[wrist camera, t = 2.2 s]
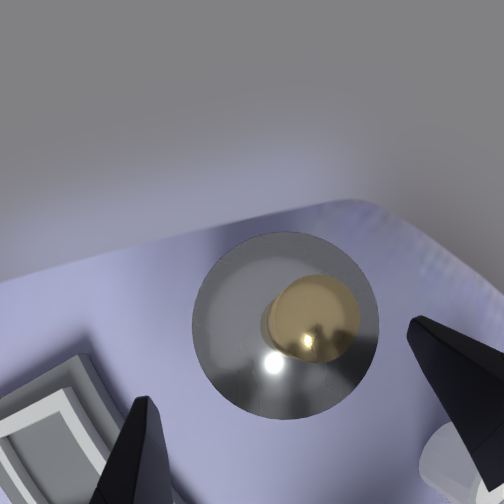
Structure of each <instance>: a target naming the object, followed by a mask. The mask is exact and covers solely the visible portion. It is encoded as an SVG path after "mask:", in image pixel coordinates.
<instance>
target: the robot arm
mask: <svg viewBox="0 0 504 504" xmlns="http://www.w3.org/2000/svg"><path fill="white" fill-rule="evenodd" d="M407 340H408V343H409V345H410V347H411V349H412V351H413V353H414V355H415V357H416V359H417V361H418V363H419V365H420V367H421V369H422V371H423V373H424V375H425V377H426V378H427V380H428V382H429V383H430V385H431V387H432V388H433V390H434V392H435V393H436V395H437V397H438V398H439V400H440V402H441V403H442V405H443V407H444V409H445V410H446V412H447V414H448V416H449V417H450V419H451V421H452V423H453V424H454V426H455V428H456V430H457V432H458V433H459V435H460V437H461V439H462V441H463V443H464V445H465V446H466V448H467V450H468V452H469V454H470V456H471V458H472V460H473V462H474V464H475V466H476V468H477V470H478V472H479V474H480V476H481V478H482V480H483V482H484V484H485V486H486V488H487V490H488V492H491V491H493V490H494V489H496V488H497V487H499V486H501V485H502V484H504V353H502V352H500V351H498V350H496V349H494V348H492V347H489V346H487V345H485V344H483V343H481V342H479V341H477V340H474V339H472V338H470V337H468V336H466V335H464V334H462V333H459V332H457V331H455V330H453V329H451V328H449V327H446V326H444V325H442V324H440V323H438V322H436V321H433V320H431V319H429V318H427V317H425V316H422V315H420V316H417V317H415V318H412V319H411V321H410V324H409V328H408V331H407ZM89 504H173V496H172V488H171V480H170V470H169V461H168V454H167V449H166V444H165V439H164V434H163V429H162V424H161V419H160V414H159V411H158V409H157V407H156V406H155V404H154V403H153V401H152V400H151V398H150V397H149V396H141V397H137V398H136V399H135V400H134V402H133V405H132V407H131V409H130V411H129V413H128V415H127V418H126V420H125V422H124V424H123V426H122V428H121V431H120V433H119V435H118V437H117V440H116V442H115V444H114V446H113V448H112V451H111V453H110V455H109V458H108V460H107V462H106V464H105V467H104V469H103V471H102V474H101V476H100V478H99V481H98V483H97V487H96V488H95V490H94V492H93V495H92V497H91V499H90V501H89Z"/></svg>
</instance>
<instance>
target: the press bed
mask: <svg viewBox="0 0 504 504" xmlns="http://www.w3.org/2000/svg"><path fill="white" fill-rule="evenodd" d="M124 422H125V420H124V418H123V416H122V415H121V413H120V412H119V410H118V408H117V407H116V405H115V403H114V402H113V400H112V398H111V396H110V395H109V393H108V391H107V389H106V388H105V386H104V384H103V382H102V380H101V379H100V377H99V375H98V373H97V371H96V369H95V367H94V365H93V363H92V361H91V359H90V357H89V355H88V354H77V355H75V356H74V357H72V358H70V359H68V360H67V361H65V362H63V363H62V364H60V365H58V366H56V367H55V368H53V369H51V370H49V371H48V372H46V373H44V374H42V375H41V376H39V377H37V378H35V379H34V380H32V381H30V382H28V383H27V384H25V385H23V386H22V387H20V388H18V389H16V390H15V391H13V392H11V393H9V394H8V395H6V396H4V397H2V398H1V399H0V486H1V488H2V489H3V491H4V492H5V494H6V495H7V497H8V498H9V500H10V501H11V502H12V504H89V501H90V499H91V497H92V495H93V492H94V490H95V488H96V487H97V483H98V481H99V478H100V476H101V474H102V471H103V469H104V467H105V464H106V462H107V460H108V458H109V455H110V453H111V451H112V448H113V446H114V444H115V442H116V440H117V437H118V435H119V433H120V431H121V428H122V426H123V424H124ZM171 488H172V496H173V504H187V503H186V502H185V501H184V500H183V498H182V497H181V496H180V495H179V494H178V493H177V491H176V490H175V489H174V488H173V486H172V485H171Z"/></svg>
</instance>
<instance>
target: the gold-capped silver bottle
mask: <svg viewBox="0 0 504 504" xmlns="http://www.w3.org/2000/svg"><path fill="white" fill-rule="evenodd" d="M192 334H193V342H194V347H195V351H196V355H197V357H198V360H199V363H200V365H201V367H202V369H203V371H204V373H205V375H206V377H207V378H208V379H209V381H210V382H211V383H212V385H213V386H214V387H215V388H216V389H217V390H218V391H219V392H220V393H221V394H222V396H224V397H225V398H226V399H227V400H229V401H230V402H231V403H233V404H234V405H236V406H237V407H239V408H241V409H243V410H245V411H247V412H249V413H252V414H254V415H257V416H261V417H265V418H270V419H279V420H290V419H299V418H305V417H309V416H312V415H316V414H319V413H321V412H323V411H325V410H327V409H330V408H331V407H333V406H334V405H336V404H338V403H339V402H341V401H342V400H343V399H344V398H345V397H347V396H348V395H349V394H350V393H351V392H352V391H353V390H354V389H355V388H356V387H357V386H358V384H359V383H360V381H361V380H362V379H363V377H364V376H365V374H366V372H367V370H368V369H369V367H370V365H371V362H372V360H373V357H374V355H375V351H376V347H377V343H378V335H379V315H378V308H377V304H376V300H375V296H374V293H373V291H372V288H371V286H370V284H369V282H368V280H367V278H366V277H365V275H364V273H363V272H362V271H361V269H360V268H359V267H358V265H357V264H356V263H355V262H354V261H353V260H352V259H351V258H350V257H349V256H348V255H347V254H346V253H344V252H343V251H342V250H341V249H339V248H338V247H336V246H334V245H333V244H331V243H329V242H327V241H325V240H323V239H321V238H318V237H315V236H312V235H308V234H303V233H298V232H274V233H269V234H263V235H260V236H257V237H254V238H251V239H249V240H247V241H245V242H243V243H241V244H239V245H237V246H236V247H234V248H233V249H231V250H230V251H229V252H227V253H226V254H225V255H224V256H223V257H222V258H220V260H219V261H218V262H217V263H216V264H215V265H214V266H213V267H212V269H211V270H210V272H209V273H208V275H207V276H206V278H205V279H204V281H203V283H202V285H201V287H200V289H199V292H198V295H197V298H196V301H195V305H194V310H193V318H192Z"/></svg>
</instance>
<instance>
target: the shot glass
mask: <svg viewBox="0 0 504 504" xmlns="http://www.w3.org/2000/svg"><path fill="white" fill-rule="evenodd" d="M419 474H420V476H421V478H422V480H423V481H424V482H426V483H427V484H428V485H429V486H431V487H432V488H433V489H434V490H436V491H437V492H438V493H439V494H441V495H442V496H443V497H444V498H446V499H447V500H448V501H450V502H451V503H452V504H504V484H502V485H501V486H499V487H497V488H496V489H494V490H493V491H491V492H488V490H487V488H486V486H485V484H484V482H483V480H482V478H481V476H480V474H479V472H478V470H477V468H476V466H475V464H474V462H473V460H472V458H471V456H470V454H469V452H468V450H467V448H466V446H465V445H464V443H463V441H462V439H461V437H460V435H459V433H458V432H457V430H456V428H455V426H454V424H453V423H452V421H451V422H449V423H446V424H444V425H442V426H441V427H440V428H439V429H438V430H437V431H436V432H435V433H433V434H432V436H431V437H430V439H429V440H428V442H427V443H426V445H425V446H424V448H423V451H422V454H421V456H420V459H419Z"/></svg>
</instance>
